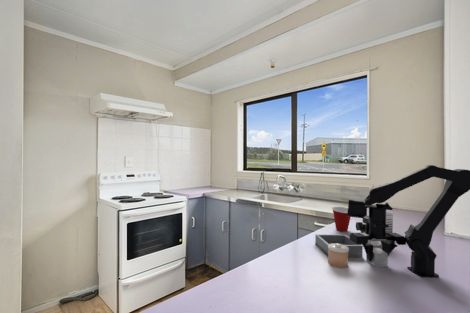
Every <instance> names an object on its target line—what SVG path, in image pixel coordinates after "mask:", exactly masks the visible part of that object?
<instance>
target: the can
mask: <svg viewBox="0 0 470 313" xmlns="http://www.w3.org/2000/svg"><path fill="white" fill-rule="evenodd" d="M394 214H395V213H394V212H392V210H386V224H388V225H389V228H386V233H394V231H393V228H394V227H393V226H394V224H393V223H394V220H393V219H394Z"/></svg>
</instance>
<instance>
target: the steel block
mask: <svg viewBox="0 0 470 313" xmlns="http://www.w3.org/2000/svg"><path fill="white" fill-rule="evenodd" d="M365 259H366V260H365V261H366V262H367V263H369V264H370V265H371V266H372V267H373V268H383V267H384V268H385V267H386V268H387V267H388V261H389V260H388V259H389V256H388V253H386V252H385V251H383V250H382V248H380V247H373V255H372V260H371V262H370V261H369V260H368V257H367V255H366V258H365Z"/></svg>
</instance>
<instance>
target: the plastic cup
mask: <svg viewBox="0 0 470 313" xmlns="http://www.w3.org/2000/svg"><path fill="white" fill-rule="evenodd" d="M331 210H332V212H333V213H332V214H333V220H334V225H335V229H336V231H339V232H344V233H345V232H348V230H349V225H350V220H351V217H348V207H344V206H333V207H331Z"/></svg>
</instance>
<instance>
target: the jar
mask: <svg viewBox="0 0 470 313" xmlns="http://www.w3.org/2000/svg"><path fill="white" fill-rule="evenodd" d="M367 221H369V215H367V216H365V217H364V218H362V221H361V222H362V223H363V224H366V222H367ZM360 233H361V232H360ZM361 234H363V235H365V236H369V235H368V234H365V232H364V233H361ZM371 244H372V245H373V246H375V247H379V246H382V244H381V241H371Z"/></svg>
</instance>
